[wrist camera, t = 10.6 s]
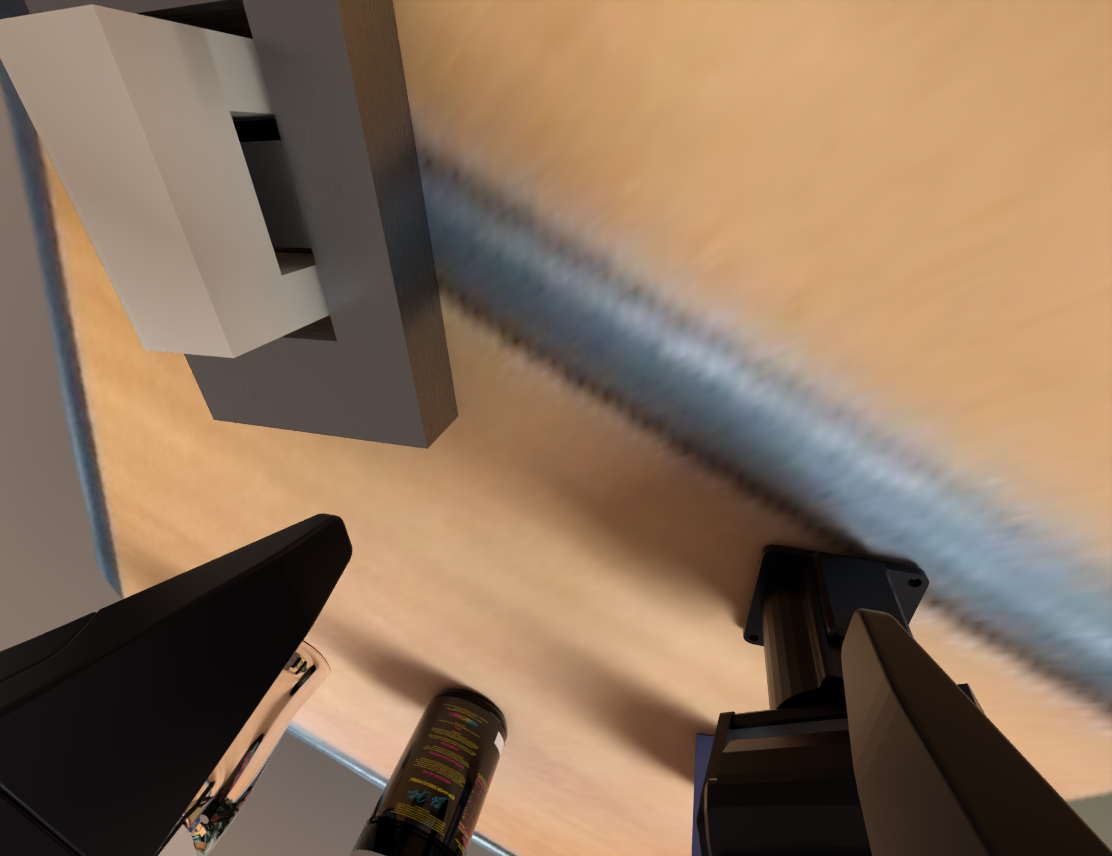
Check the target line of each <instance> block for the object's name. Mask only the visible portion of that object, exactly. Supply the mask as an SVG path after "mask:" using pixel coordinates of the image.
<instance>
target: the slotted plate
mask: <svg viewBox="0 0 1112 856" xmlns="http://www.w3.org/2000/svg"><path fill="white" fill-rule="evenodd" d="M24 1H25V3H26V5H27V8H28V10H29V12H30V14H36V13H42V12H48V11H54V10H61V9H67V8H73V7H79V6H85V5H91V4H94V5H98V6H103V7H107V8H112V9H117V10H121V11H126V12H130V13H135V14H140V15H144V16H149V17H154V18H158V19H163V20H167V21H172V22H177V23H181V24H186V25H190V26H195V27H200V28H204V29H209V30H213V31H221V30H229V29H237V28H244V27H250V29H251V33H252V37H253V40H254V44H255V47H256V51H257V55H258V58H259V62H260V65H261V69H262V73H263V76H264V80H265V83H266V87H267V91H268V94H269V98H270V101H271V105H272V109H273V112H274V116H275V119H276V123H277V127H278V130H279V134H280V137H281V140H274V141H256V142H240V145H241V148H242V151H243V155H244V158H245V161H246V164H247V167H248V170H249V174H250V177H251V180H252V183H253V186H254V189H255V193H256V196H257V199H258V202H259V205H260V208H261V211H262V215H263V218H264V221H265V224H266V227H267V230H268V234H269V237H270V240H271V243H272V246H273V247H283V248H311V249H312V253H313V256H314V260H315V263H316V267H317V271H318V274H319V278H320V281H321V285H322V288H323V292H324V296H325V299H326V303H327V306H328V310H329V314H330V316H326V317H324V318H322V319H320V320H317V321H315V322H313V323H311V324H309V325H306V326H304V327H302V328H300V329H298V330H295V331H293V332H291V333H289V334H286V335H284V336H282V337H280V338H278V339H275V340H273V341H271V342H269V343H267V344H264V345H262V346H260V347H258V348H255V349H253V350H251V351H249V352H247V353H244V354H242V355H240V356H238V357H236V358H226V357H215V356H204V355H193V354H184V355H185V357H186V359H187V361H188V364H189V366H190V368H191V370H192V372H193V375H194V377H195V379H196V381H197V384H198V386H199V388H200V390H201V392H202V395H203V397H204V399H205V401H206V403H207V406H208V408H209V410H210V412H211V414H212V417H213V419H214V420H220V421H227V422H235V423H242V424H249V425H257V426H264V427H271V428H279V429H286V430H293V431H301V432H308V433H315V434H323V435H330V436H338V437H345V438H352V439H360V440H367V441H374V442H382V443H389V444H396V445H404V446H411V447H419V448H426V449H428V448H429V447H430V446H431V444H432V443H433V442H434V441H435V440H436V439H437V438H438V437H439V436H440V435H441V434H442V433H443V432H444V431H445V430H446V429H447V427H448V426H449V425H450V424H451V423H452V422H453V421H454V420H455V419H456V418H457V417H458V413H457V407H456V400H455V394H454V388H453V381H452V375H451V369H450V362H449V356H448V350H447V343H446V337H445V331H444V324H443V318H442V312H441V305H440V299H439V293H438V286H437V280H436V274H435V267H434V261H433V255H432V248H431V242H430V236H429V229H428V223H427V217H426V211H425V204H424V198H423V192H422V185H421V179H420V173H419V166H418V160H417V154H416V147H415V141H414V135H413V128H412V122H411V116H410V109H409V103H408V97H407V90H406V84H405V78H404V71H403V65H402V59H401V52H400V46H399V40H398V33H397V27H396V21H395V14H394V8H393V2H392V0H24Z"/></svg>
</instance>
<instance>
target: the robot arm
mask: <svg viewBox="0 0 1112 856" xmlns="http://www.w3.org/2000/svg"><path fill="white" fill-rule="evenodd" d="M772 555H777V557H771V556H772ZM351 556H352V545H351V542H350V539H349V536H348V533H347V530H346V527H345V524H344V522H343V520H342V519H341V518H340V517H339V516H335V515H329V514H318V515H315V516H313V517H310V518H308V519H306V520H304V521H301V522H299V523H297V524H294V525H292V526H290V527H288V528H285V529H283V530H281V531H278V532H276V533H274V534H272V535H269V536H267V537H265V538H262V539H260V540H258V541H256V542H253V543H251V544H249V545H246V546H244V547H242V548H239V549H237V550H235V551H233V552H230V553H228V554H226V555H223V556H221V557H219V558H217V559H214V560H212V561H210V562H207V563H205V564H203V565H201V566H198V567H196V568H194V569H191V570H189V571H187V572H185V573H182V574H180V575H178V576H175V577H173V578H171V579H169V580H166V581H164V582H162V583H159V584H157V585H155V586H153V587H150V588H148V589H146V590H143V591H141V592H139V593H136V594H134V595H132V596H130V597H127V598H125V599H123V600H120V601H118V602H116V603H114V604H111V605H109V606H107V607H104V608H102V609H100V610H99V611H98V612H93V613H90V614H88V615H86V616H84V617H81V618H79V619H77V620H74V621H72V622H70V623H68V624H65V625H63V626H61V627H58V628H56V629H54V630H51V631H49V632H46V633H44V634H42V635H39V636H37V637H35V638H32V639H30V640H28V641H25V642H23V643H20V644H18V645H15V646H13V647H10V648H8V649H6V650H3V651H0V856H155V854H156V853H157V852H158V850H159V849H160V847H161V846H162V844H163V843H164V841H165V840H166V838H167V837H168V836H169V834H170V833H171V831H172V830H173V828H174V827H175V825H176V824H177V822H178V821H179V820H180V818H181V817H182V815H183V814H184V812H185V811H186V809H187V808H188V807H189V805H190V804H191V802H192V801H193V799H194V798H195V796H196V795H197V793H198V792H199V791H200V789H201V788H202V786H203V785H204V783H205V782H206V780H207V779H208V778H209V776H210V775H211V773H212V772H213V770H214V769H215V767H216V766H217V764H218V763H219V762H220V760H221V759H222V757H223V756H224V754H225V753H226V751H227V750H228V749H229V747H230V746H231V744H232V743H233V741H234V740H235V738H236V737H237V735H238V734H239V733H240V731H241V730H242V728H243V727H244V725H245V724H246V722H247V721H248V720H249V718H250V717H251V715H252V714H253V712H254V711H255V709H256V708H257V706H258V705H259V704H260V702H261V701H262V699H263V698H264V696H265V695H266V693H267V692H268V690H269V689H270V688H271V686H272V685H273V683H274V682H275V680H276V679H277V677H278V676H279V675H280V673H281V672H282V670H283V669H284V667H285V666H286V664H287V663H288V661H289V660H290V659H291V657H292V656H293V654H294V653H295V651H296V650H297V648H298V647H299V646H300V644H301V643H302V641H303V640H304V638H305V637H306V635H307V634H308V632H309V631H310V629H311V627H312V626H313V624H314V622H315V621H316V619H317V617H318V616H319V614H320V612H321V610H322V609H323V607H324V605H325V603H326V601H327V600H328V598H329V596H330V594H331V593H332V591H333V589H334V587H335V586H336V584H337V582H338V580H339V578H340V577H341V575H342V573H343V571H344V570H345V568H346V566H347V564H348V563H349V561H350V559H351ZM913 578H917V579H915V580H910V579H913ZM928 585H929V580H928V578H927V576H926V574H925V572H924V571H923V570H922V569H920V568H916V567H911V566H905V565H898V564H892V563H886V562H880V561H873V560H867V559H861V558H855V557H848V556H842V555H836V554H830V553H823V552H817V551H811V550H805V549H798V548H792V547H786V546H780V545H769V546H766V547H765V548H764V549H763V551H762V554H761V558H760V562H759V566H758V570H757V574H756V578H755V582H754V586H753V591H752V595H751V599H750V603H749V607H748V611H747V615H746V619H745V623H744V627H743V636H744V639H745V641H747V642H748V643H751V644H755V645H760V646H764V651H765V662H766V673H767V683H768V694H769V705H770V710H763V711H755V712H746V713H738V714H735V712H725V713H720V716H719V720H718V724H717V728H716V732H715V737H714V741H713V745H712V749H711V754H710V758H709V762H708V766H707V771H706V775H705V779H704V783H703V787H702V792H701V796H700V802H699V809H698V814H697V820H696V821H697V829H698V832H699V842H700V848H701V854H702V856H1112V851H1111V850H1110V848H1108V846H1107V845H1106V844H1105V843H1104V842H1103V841H1102V840H1101V839H1100V838H1099V837H1098V836H1097V835H1096V834H1095V832H1094V831H1093V830H1092V829H1091V828H1090V827H1089V826H1088V825H1087V824H1086V823H1085V822H1084V821H1083V819H1082V818H1081V817H1080V816H1079V815H1078V814H1077V813H1076V812H1075V811H1074V810H1073V809H1072V808H1071V807H1070V806H1069V805H1068V803H1067V802H1066V801H1065V800H1064V799H1063V798H1062V797H1061V796H1060V795H1059V794H1058V793H1057V792H1056V791H1055V789H1054V788H1053V787H1052V786H1051V785H1050V784H1049V783H1048V782H1047V781H1046V780H1045V779H1044V778H1043V777H1042V776H1041V774H1040V773H1039V772H1038V771H1037V770H1036V769H1035V768H1034V767H1033V766H1032V765H1031V764H1030V763H1029V762H1028V761H1027V759H1026V758H1025V757H1024V756H1023V755H1022V754H1021V753H1020V752H1019V751H1018V750H1017V749H1016V748H1015V747H1014V746H1013V744H1012V743H1011V742H1010V741H1009V740H1008V739H1007V738H1006V737H1005V736H1004V735H1003V734H1002V733H1001V732H1000V731H999V729H998V728H997V727H996V726H995V725H994V724H993V723H992V722H991V721H990V720H989V719H988V718H987V717H986V715H985V713H984V711H983V710H982V708H981V706H980V704H979V703H978V701H977V699H976V697H975V696H974V694H973V692H972V690H971V689H970V687H969V685H968V683H966V684H958V685H957V684H956V683H955V682H954V681H953V680H952V679H951V678H950V677H949V676H948V675H947V674H946V673H945V672H944V670H943V669H942V668H941V667H940V666H939V665H938V664H937V663H936V662H935V661H934V660H933V659H932V658H931V657H930V655H929V654H928V653H927V652H926V651H925V650H924V649H923V648H922V647H921V646H920V645H919V644H918V643H917V642H916V640H915V639H914V638H913V636H912V633H911V631H910V628H909V623H910V621H911V619H912V617H913V615H914V613H915V611H916V609H917V607H918V605H919V603H920V601H921V599H922V597H923V595H924V593H925V591H926V589H927V587H928Z"/></svg>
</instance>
